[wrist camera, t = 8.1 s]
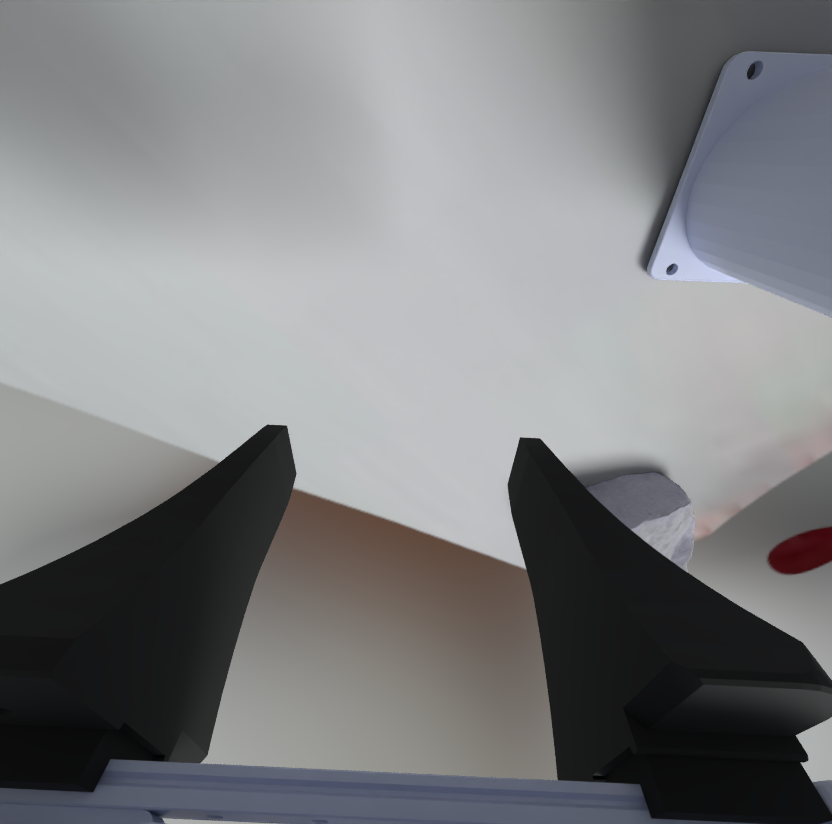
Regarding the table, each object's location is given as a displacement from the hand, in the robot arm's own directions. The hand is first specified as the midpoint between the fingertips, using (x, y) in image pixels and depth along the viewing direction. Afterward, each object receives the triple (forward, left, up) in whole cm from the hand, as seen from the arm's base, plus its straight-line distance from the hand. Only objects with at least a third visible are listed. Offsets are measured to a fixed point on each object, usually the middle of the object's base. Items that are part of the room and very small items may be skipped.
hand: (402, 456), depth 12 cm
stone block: (-17, +16, -11) cm, 26 cm away
